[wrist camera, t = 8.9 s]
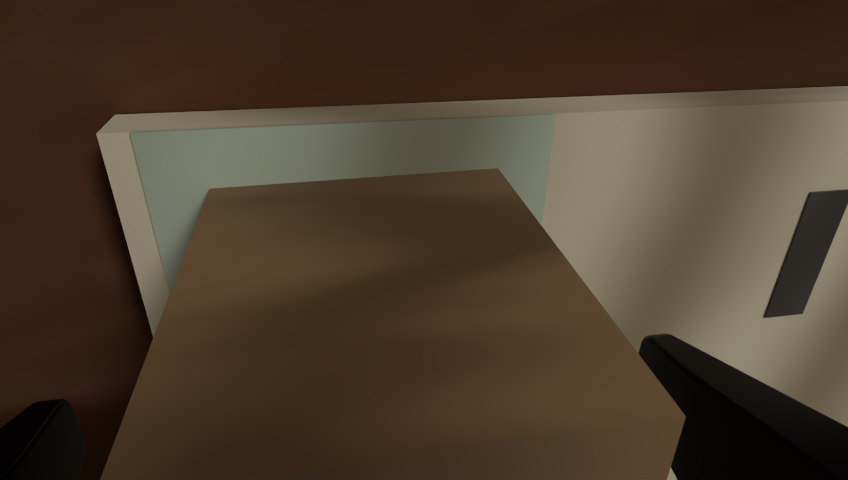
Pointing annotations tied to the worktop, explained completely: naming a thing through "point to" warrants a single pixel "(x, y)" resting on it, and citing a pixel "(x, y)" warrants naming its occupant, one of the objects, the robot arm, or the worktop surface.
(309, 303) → the walnut block
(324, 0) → the worktop surface
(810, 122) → the board
